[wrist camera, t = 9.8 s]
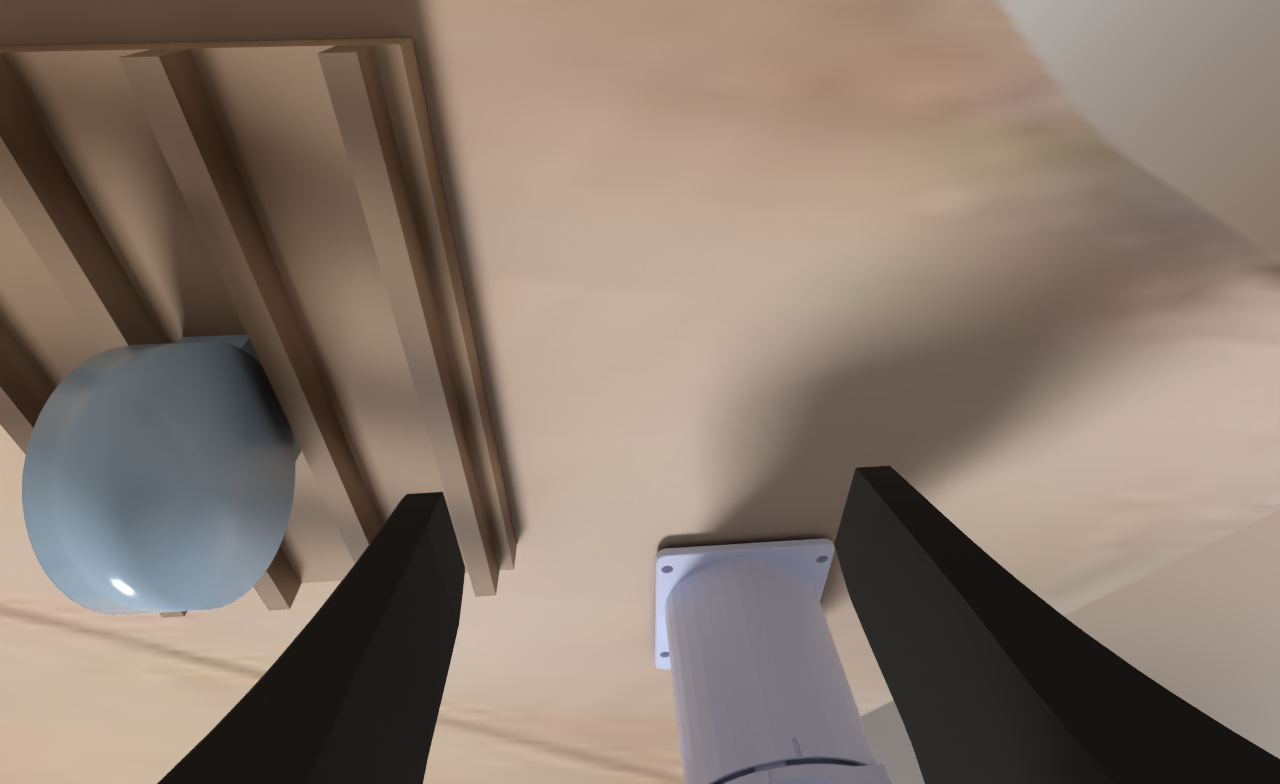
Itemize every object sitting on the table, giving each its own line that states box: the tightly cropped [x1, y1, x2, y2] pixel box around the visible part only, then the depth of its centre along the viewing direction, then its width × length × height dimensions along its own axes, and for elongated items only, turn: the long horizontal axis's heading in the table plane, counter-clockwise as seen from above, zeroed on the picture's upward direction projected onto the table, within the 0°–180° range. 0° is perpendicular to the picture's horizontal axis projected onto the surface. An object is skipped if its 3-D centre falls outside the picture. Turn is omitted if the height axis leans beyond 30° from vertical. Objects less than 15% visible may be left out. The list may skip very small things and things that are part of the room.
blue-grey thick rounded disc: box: [22, 334, 302, 615], centre depth 16 cm, size 7×2×7 cm, turn 0°
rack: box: [0, 38, 517, 617], centre depth 19 cm, size 19×14×2 cm
